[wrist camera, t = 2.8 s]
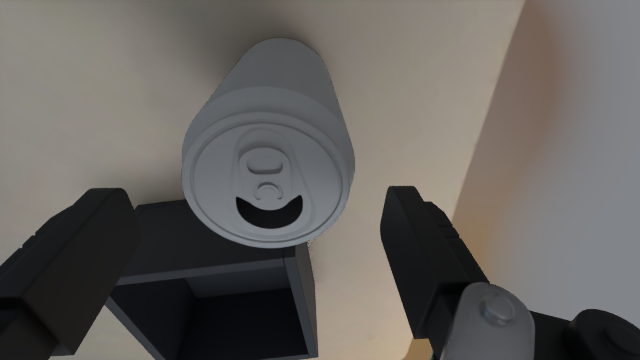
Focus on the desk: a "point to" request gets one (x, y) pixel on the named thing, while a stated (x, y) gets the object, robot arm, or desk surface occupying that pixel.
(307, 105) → the beverage can
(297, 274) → the bin
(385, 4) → the desk surface
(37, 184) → the desk surface
